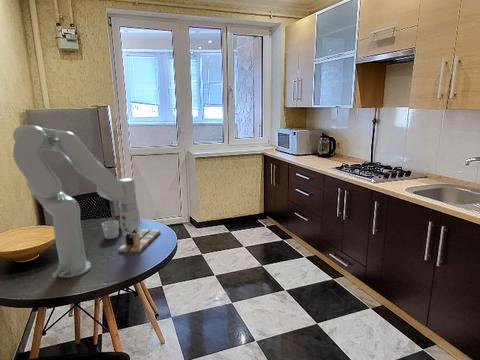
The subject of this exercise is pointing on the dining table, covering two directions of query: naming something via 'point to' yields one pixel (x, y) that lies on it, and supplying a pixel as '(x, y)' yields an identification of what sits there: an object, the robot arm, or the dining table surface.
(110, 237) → the cup
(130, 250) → the slider board
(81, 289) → the dining table surface
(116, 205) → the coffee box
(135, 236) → the fader tab
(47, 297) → the dining table surface
